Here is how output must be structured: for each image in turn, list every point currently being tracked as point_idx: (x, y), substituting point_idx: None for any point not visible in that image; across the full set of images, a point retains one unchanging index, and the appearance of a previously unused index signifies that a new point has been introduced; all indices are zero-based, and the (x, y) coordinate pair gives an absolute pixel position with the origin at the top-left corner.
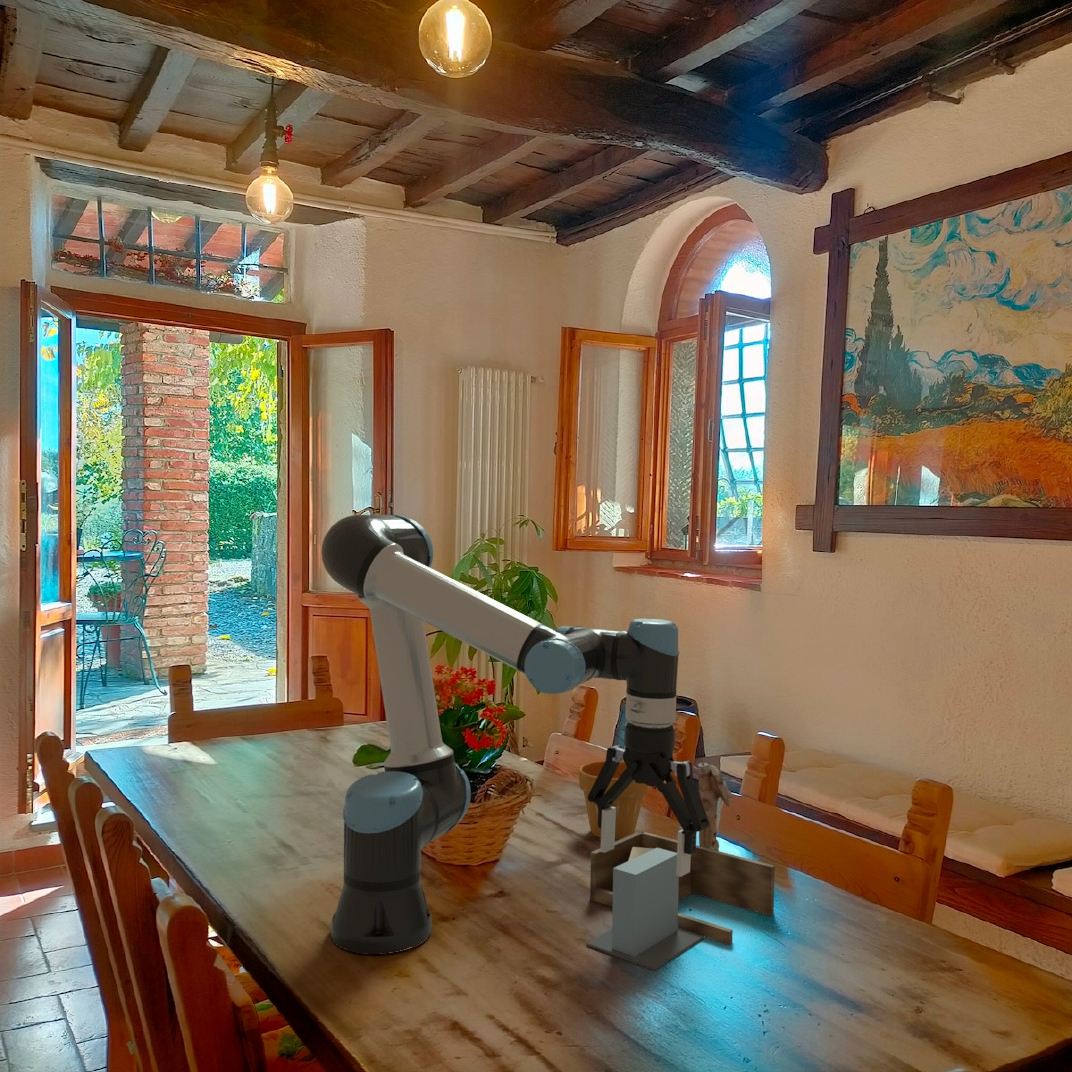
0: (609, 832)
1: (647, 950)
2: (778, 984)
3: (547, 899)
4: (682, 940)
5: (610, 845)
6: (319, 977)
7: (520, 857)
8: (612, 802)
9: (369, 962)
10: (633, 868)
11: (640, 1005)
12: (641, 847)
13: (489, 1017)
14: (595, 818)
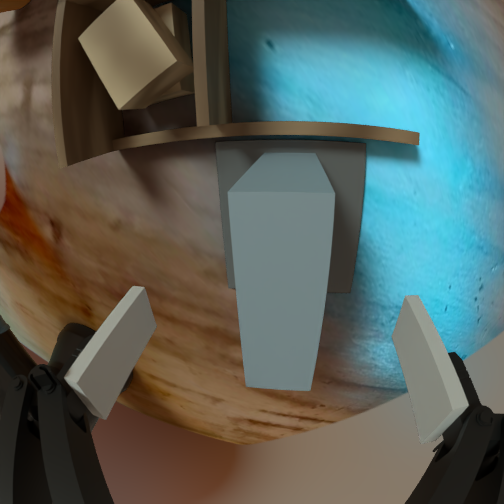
0: (127, 347)
1: None
2: (489, 224)
3: (87, 198)
4: (344, 186)
5: (143, 312)
6: (142, 406)
7: (4, 129)
8: (64, 400)
9: (136, 388)
10: (284, 371)
11: (366, 354)
12: (85, 6)
13: (263, 411)
14: (4, 9)
